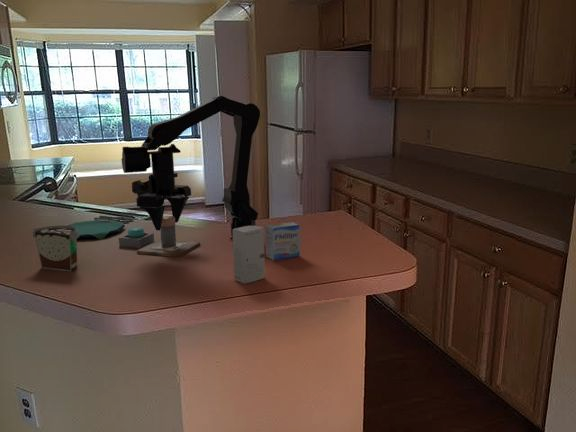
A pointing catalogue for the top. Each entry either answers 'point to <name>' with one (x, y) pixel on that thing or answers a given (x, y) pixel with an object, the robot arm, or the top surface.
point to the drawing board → (174, 251)
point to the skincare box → (248, 253)
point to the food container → (57, 247)
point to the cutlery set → (100, 226)
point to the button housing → (136, 241)
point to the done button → (135, 232)
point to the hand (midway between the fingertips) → (167, 226)
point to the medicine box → (282, 241)
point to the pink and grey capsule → (168, 232)
